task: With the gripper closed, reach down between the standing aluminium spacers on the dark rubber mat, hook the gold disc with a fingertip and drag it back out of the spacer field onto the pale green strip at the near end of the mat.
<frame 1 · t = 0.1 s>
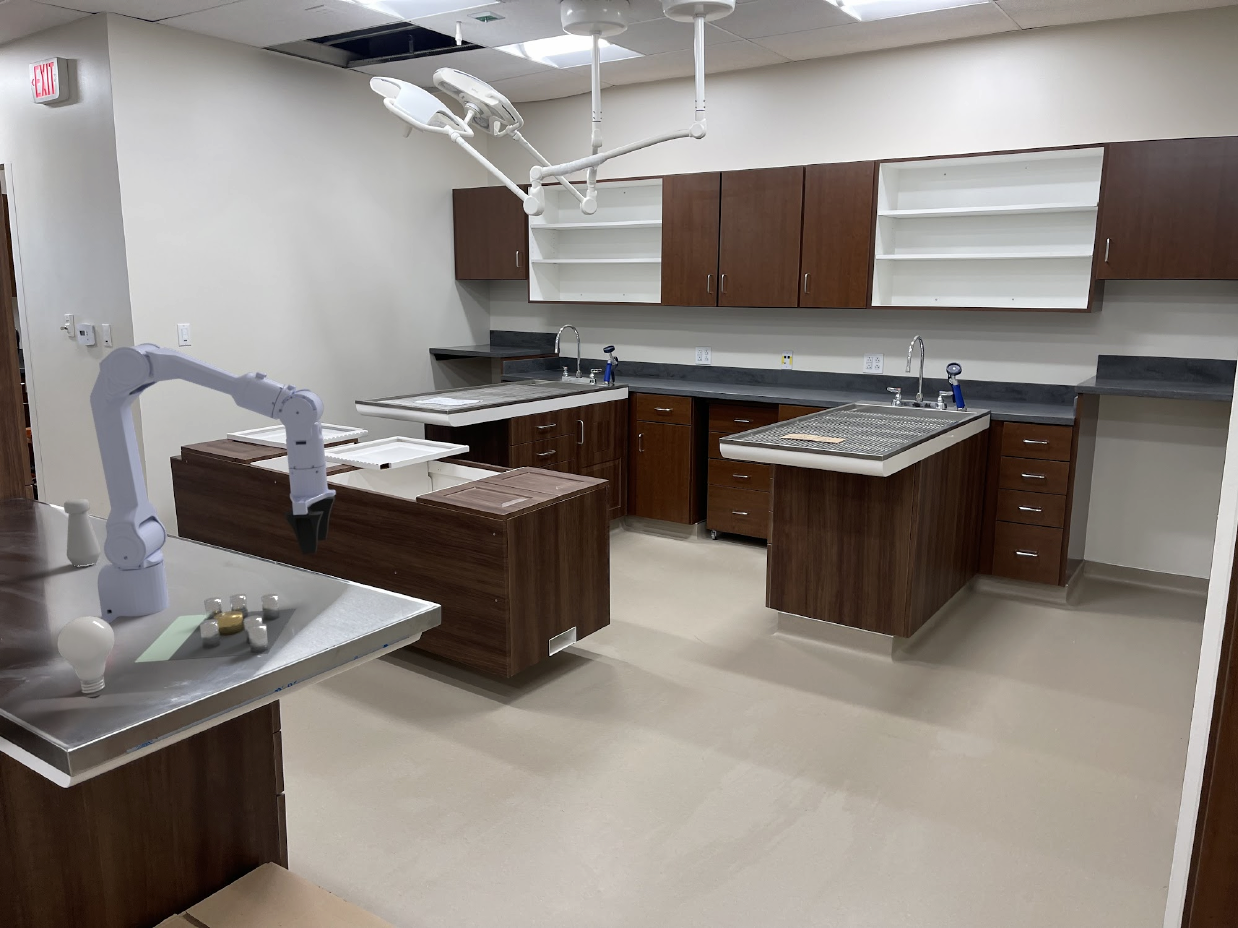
hand: (314, 546, 149), 10 cm above the counter, tool pointing down, fingers open, 7 cm apart
lightbulb: (95, 698, 118), on the counter
gold disc: (230, 630, 137), point 1 cm above the counter, touching mat
mat: (222, 640, 136), on the counter
salt shaker: (85, 565, 176), on the counter
spacers: (236, 622, 135), on the mat, point 3 cm above the counter
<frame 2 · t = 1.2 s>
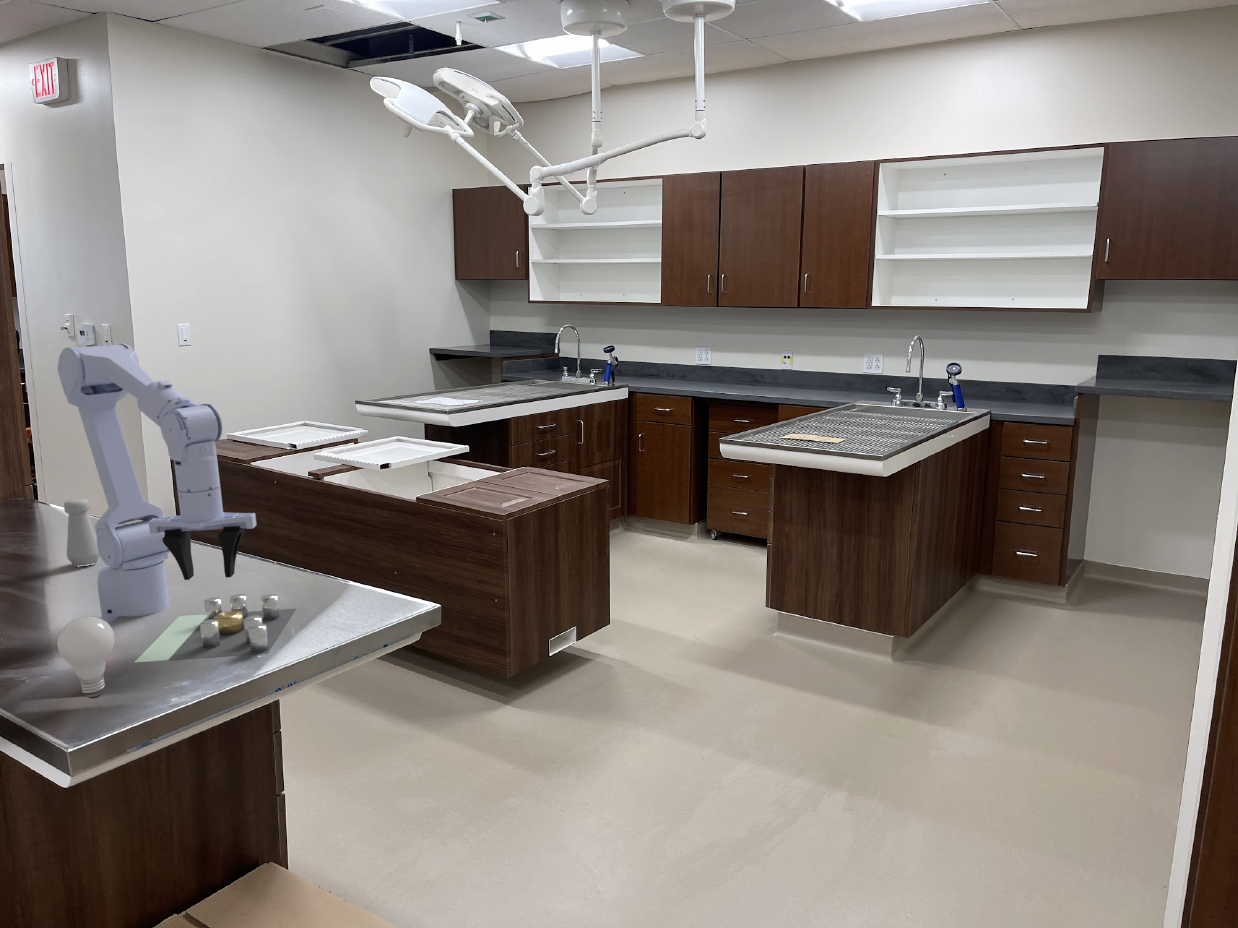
hand: (209, 576, 135), 10 cm above the counter, tool pointing down, fingers open, 5 cm apart
nothing on the counter moved.
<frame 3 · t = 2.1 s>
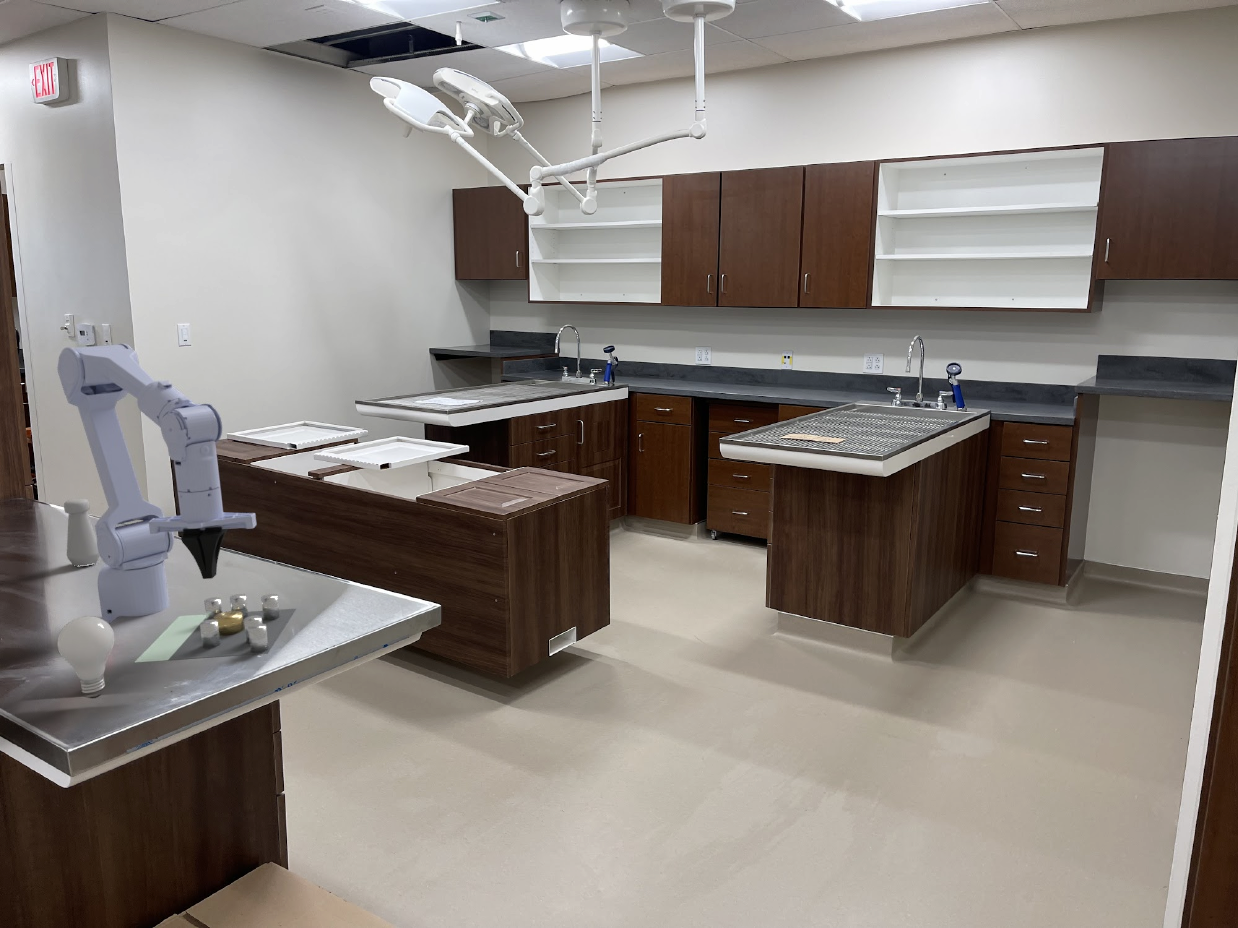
hand: (209, 576, 135), 10 cm above the counter, tool pointing down, fingers closed
nothing on the counter moved.
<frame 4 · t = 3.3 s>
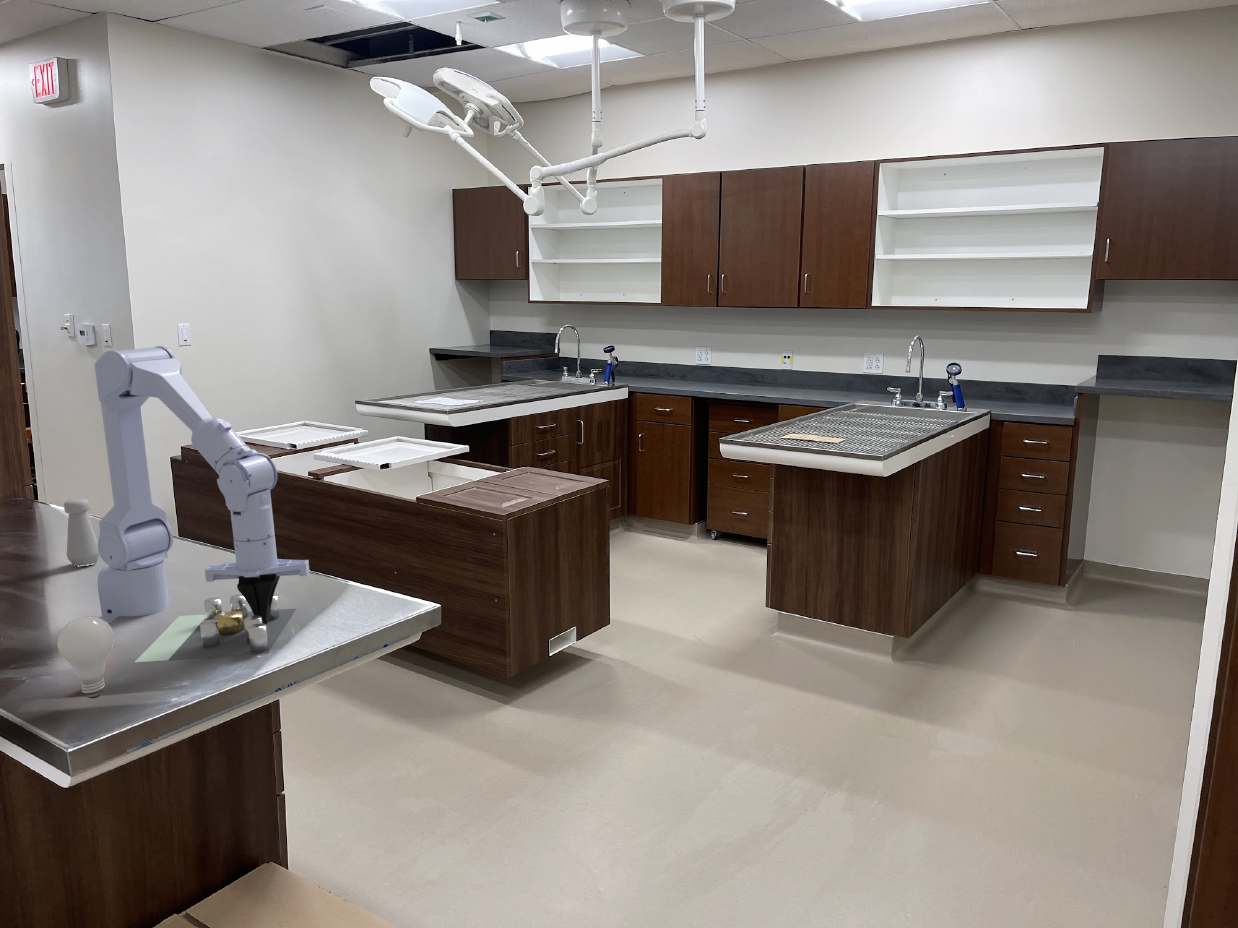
hand: (263, 622, 137), 2 cm above the counter, tool pointing down, fingers closed
nothing on the counter moved.
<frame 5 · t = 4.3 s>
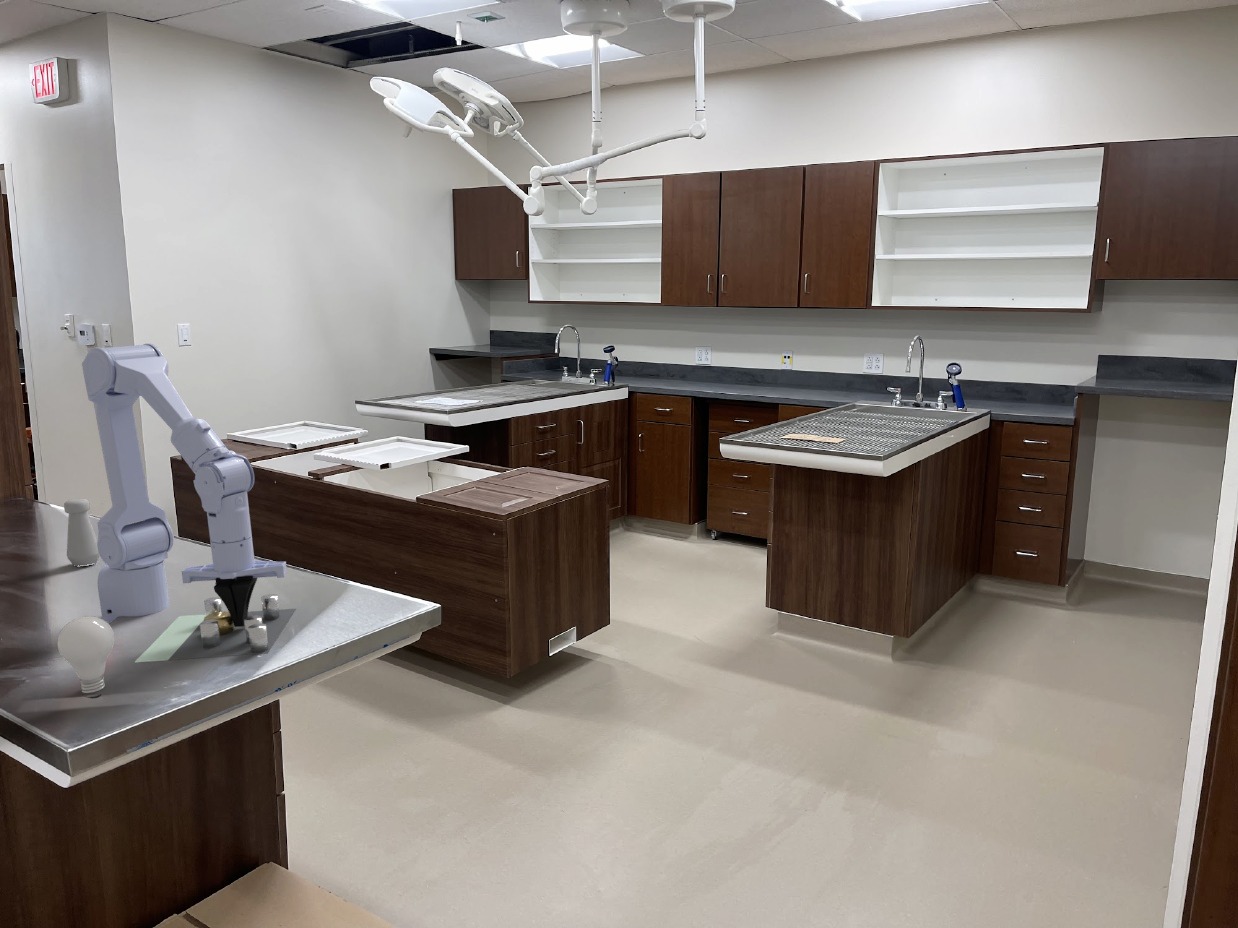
hand: (240, 624, 137), 2 cm above the counter, tool pointing down, fingers closed
gold disc: (220, 631, 136), point 1 cm above the counter, touching gripper, mat
everything else where it was.
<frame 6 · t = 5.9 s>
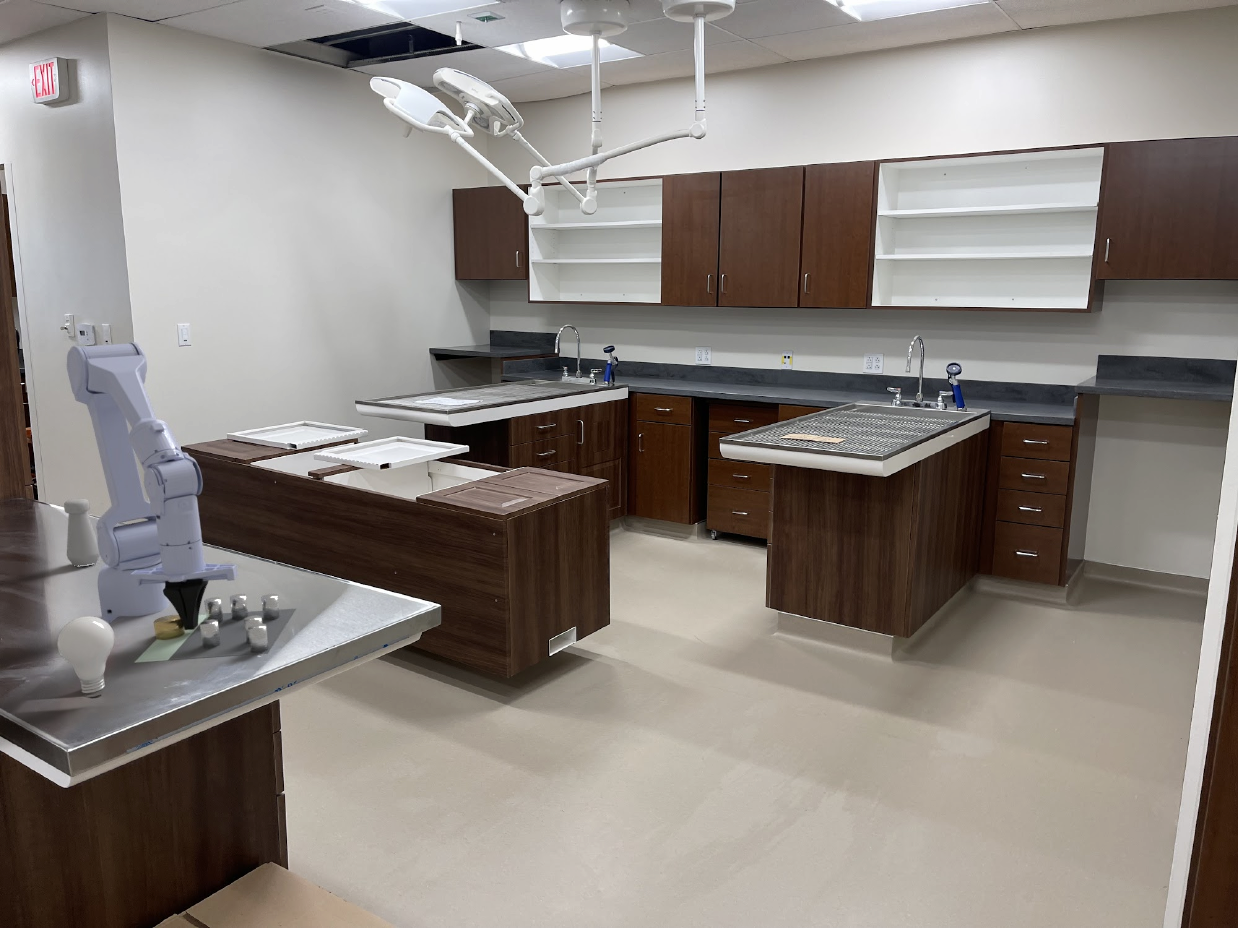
hand: (191, 627, 136), 2 cm above the counter, tool pointing down, fingers closed
gold disc: (170, 634, 136), point 1 cm above the counter, touching gripper, mat
everything else where it was.
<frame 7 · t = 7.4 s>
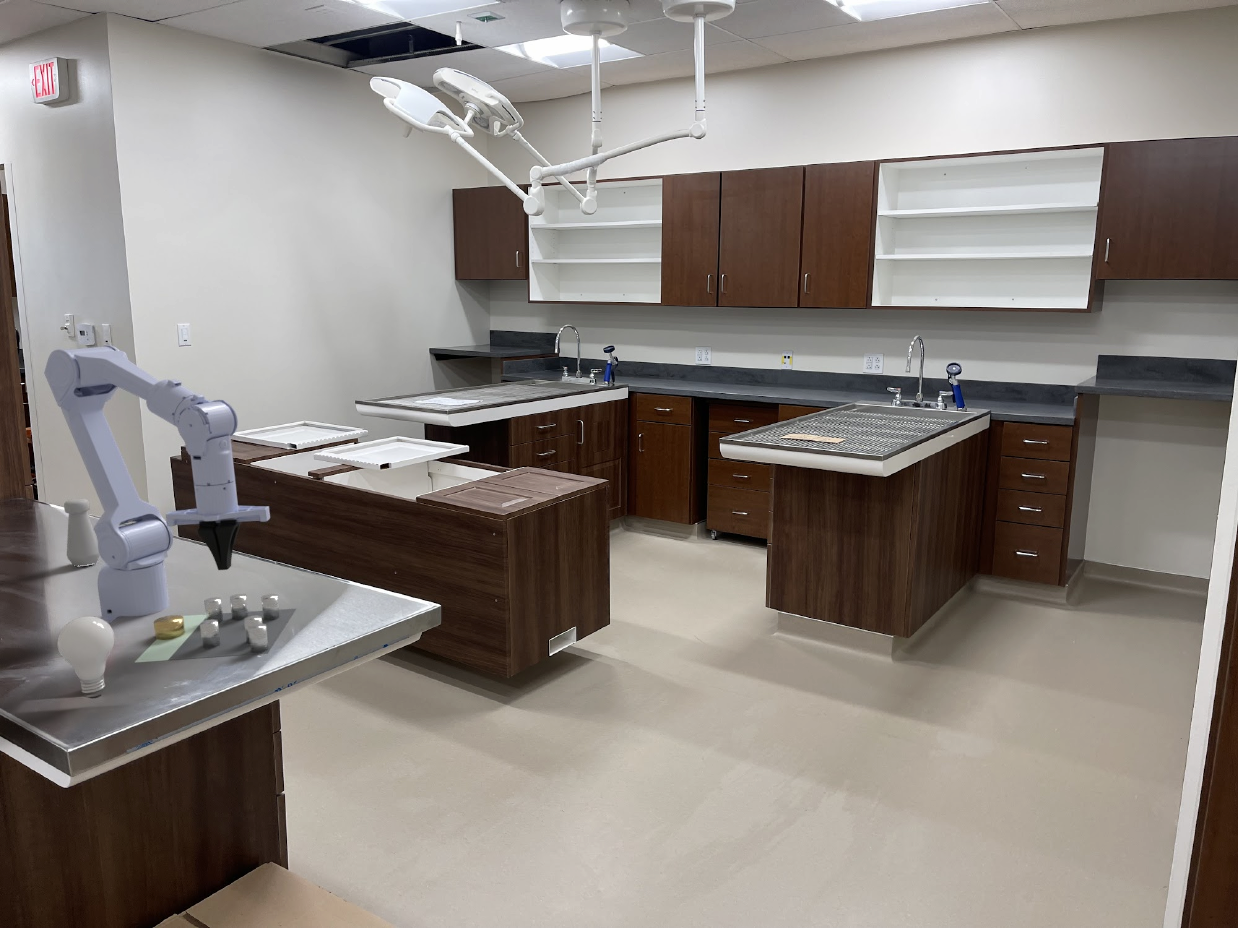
hand: (224, 568, 139), 10 cm above the counter, tool pointing down, fingers closed
gold disc: (170, 634, 136), point 1 cm above the counter, touching mat
everything else where it was.
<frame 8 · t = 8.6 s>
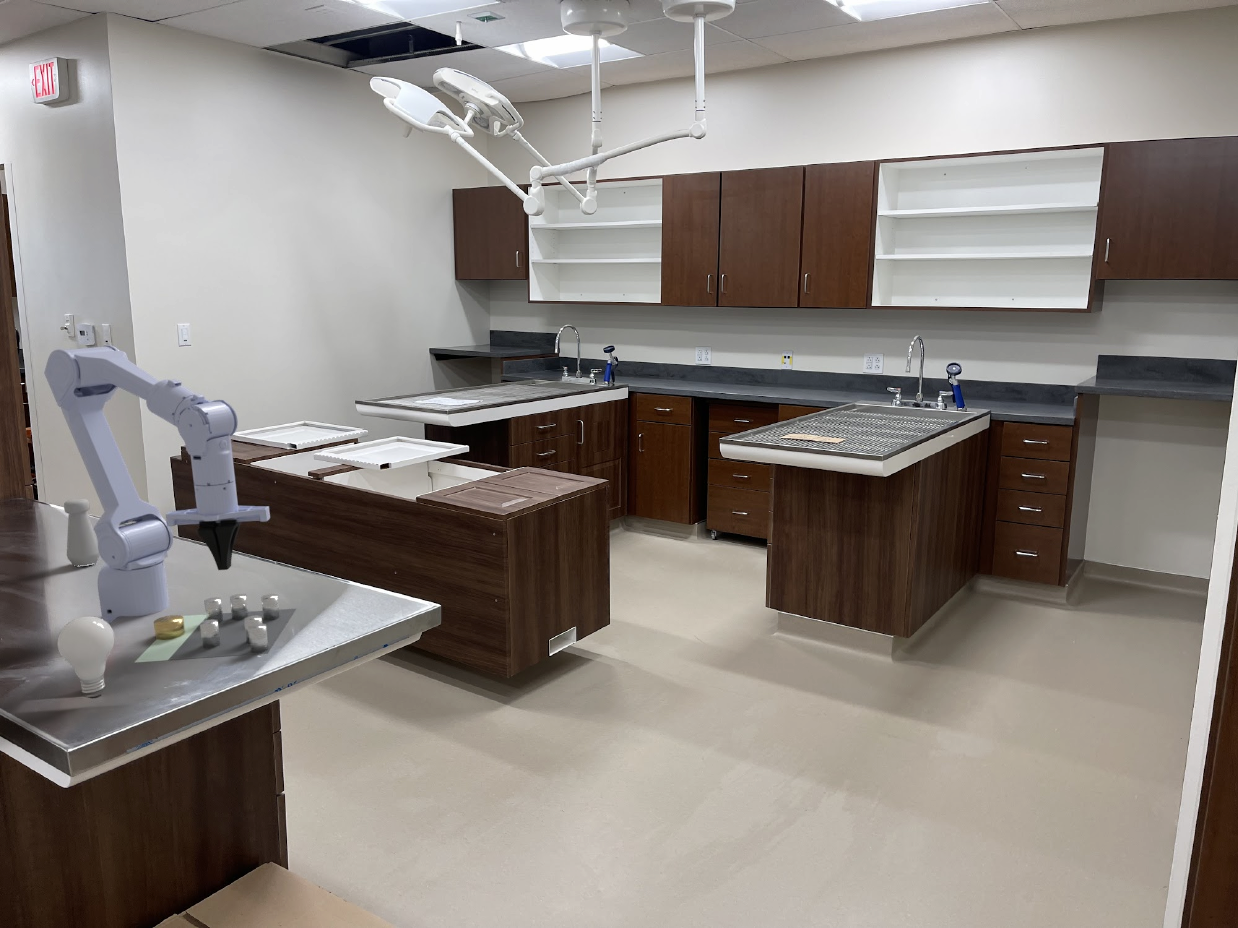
hand: (224, 568, 139), 10 cm above the counter, tool pointing down, fingers closed
nothing on the counter moved.
at the end: gold disc inside the target area (0.2 cm from its centre), point 1.2 cm above the counter; gold disc moved 8.5 cm from its start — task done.
